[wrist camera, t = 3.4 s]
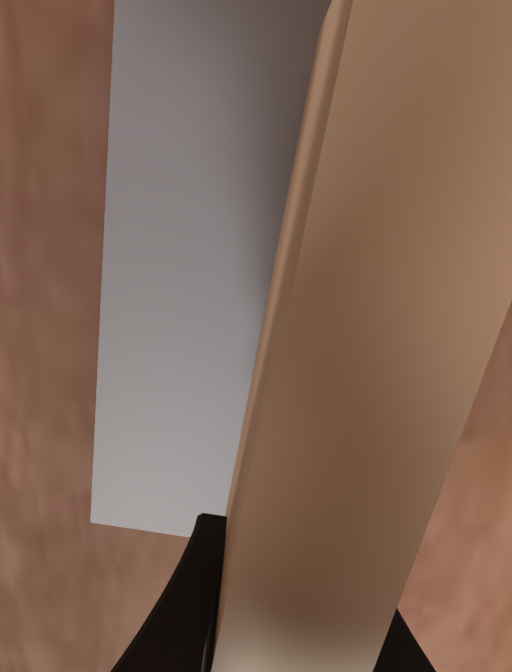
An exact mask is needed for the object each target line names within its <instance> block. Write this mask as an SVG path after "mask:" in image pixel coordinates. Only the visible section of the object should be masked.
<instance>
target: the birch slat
mask: <svg viewBox="0 0 512 672" xmlns="http://www.w3.org/2000/svg"><path fill="white" fill-rule="evenodd" d="M511 300H512V0H332V2H331V4H330V7H329V9H328V12H327V14H326V17H325V19H324V21H323V24H322V26H321V29H320V31H319V35H318V40H317V45H316V50H315V56H314V61H313V66H312V71H311V76H310V81H309V86H308V91H307V97H306V102H305V107H304V112H303V117H302V122H301V127H300V133H299V138H298V143H297V148H296V153H295V158H294V163H293V168H292V174H291V179H290V184H289V189H288V194H287V199H286V204H285V210H284V215H283V220H282V225H281V230H280V235H279V240H278V245H277V251H276V256H275V261H274V266H273V271H272V276H271V281H270V286H269V292H268V297H267V302H266V307H265V312H264V317H263V322H262V328H261V333H260V338H259V343H258V348H257V353H256V358H255V363H254V369H253V374H252V379H251V384H250V389H249V394H248V399H247V405H246V410H245V415H244V420H243V425H242V430H241V435H240V440H239V446H238V451H237V456H236V461H235V466H234V471H233V476H232V482H231V487H230V492H229V497H228V502H227V507H226V512H225V516H227V526H226V538H225V550H224V557H223V562H222V567H221V572H220V576H219V581H218V586H217V591H216V596H215V600H214V605H213V610H212V615H211V620H210V624H209V629H208V634H207V639H206V643H205V648H204V655H203V664H202V672H373V670H374V667H375V664H376V662H377V659H378V656H379V654H380V651H381V648H382V646H383V643H384V640H385V637H386V635H387V632H388V629H389V627H390V624H391V621H392V619H393V616H394V613H395V611H396V608H397V605H398V603H399V600H400V597H401V595H402V592H403V589H404V587H405V584H406V581H407V579H408V576H409V573H410V571H411V568H412V565H413V563H414V560H415V557H416V554H417V552H418V549H419V546H420V544H421V541H422V538H423V536H424V533H425V530H426V528H427V525H428V522H429V520H430V517H431V514H432V512H433V509H434V506H435V504H436V501H437V498H438V496H439V493H440V490H441V488H442V485H443V482H444V480H445V477H446V474H447V472H448V469H449V466H450V463H451V461H452V458H453V455H454V453H455V450H456V447H457V445H458V442H459V439H460V437H461V434H462V431H463V429H464V426H465V423H466V421H467V418H468V415H469V413H470V410H471V407H472V405H473V402H474V399H475V397H476V394H477V391H478V389H479V386H480V383H481V380H482V378H483V375H484V372H485V370H486V367H487V364H488V362H489V359H490V356H491V354H492V351H493V348H494V346H495V343H496V340H497V338H498V335H499V332H500V330H501V327H502V324H503V322H504V319H505V316H506V314H507V311H508V308H509V306H510V303H511Z"/></svg>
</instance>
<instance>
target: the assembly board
mask: <svg viewBox="0 0 512 672" xmlns="http://www.w3.org/2000/svg"><path fill="white" fill-rule="evenodd" d="M331 2H332V0H115V8H114V29H113V51H112V72H111V93H110V115H109V136H108V158H107V179H106V200H105V222H104V243H103V265H102V286H101V307H100V329H99V350H98V372H97V393H96V414H95V436H94V457H93V479H92V500H91V521H90V522H92V523H98V524H105V525H112V526H118V527H125V528H132V529H138V530H145V531H152V532H158V533H165V534H171V535H178V536H185V537H191V535H192V532H193V529H194V527H195V523H196V519H197V516H198V515H200V514H202V513H208V514H214V515H221V516H225V512H226V507H227V502H228V497H229V492H230V487H231V482H232V476H233V471H234V466H235V461H236V456H237V451H238V446H239V440H240V435H241V430H242V425H243V420H244V415H245V410H246V405H247V399H248V394H249V389H250V384H251V379H252V374H253V369H254V363H255V358H256V353H257V348H258V343H259V338H260V333H261V328H262V322H263V317H264V312H265V307H266V302H267V297H268V292H269V286H270V281H271V276H272V271H273V266H274V261H275V256H276V251H277V245H278V240H279V235H280V230H281V225H282V220H283V215H284V210H285V204H286V199H287V194H288V189H289V184H290V179H291V174H292V168H293V163H294V158H295V153H296V148H297V143H298V138H299V133H300V127H301V122H302V117H303V112H304V107H305V102H306V97H307V91H308V86H309V81H310V76H311V71H312V66H313V61H314V56H315V50H316V45H317V40H318V35H319V31H320V29H321V26H322V24H323V21H324V19H325V17H326V14H327V12H328V9H329V7H330V4H331Z"/></svg>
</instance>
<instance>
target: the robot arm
mask: <svg viewBox="0 0 512 672" xmlns="http://www.w3.org/2000/svg"><path fill="white" fill-rule="evenodd" d="M226 526H227V516H221V515H214V514H208V513H202V514H200V515H198V516H197V519H196V523H195V527H194V529H193V532H192V535H191V537H190V540H189V542H188V544H187V547H186V549H185V551H184V553H183V555H182V557H181V559H180V562H179V563H178V565H177V567H176V569H175V571H174V573H173V575H172V576H171V578H170V580H169V582H168V584H167V586H166V588H165V589H164V591H163V593H162V595H161V596H160V598H159V600H158V601H157V603H156V604H155V606H154V608H153V609H152V611H151V612H150V614H149V616H148V617H147V619H146V621H145V622H144V624H143V625H142V627H141V628H140V630H139V632H138V633H137V635H136V636H135V637H134V639H133V640H132V642H131V643H130V645H129V646H128V648H127V649H126V651H125V652H124V653H123V655H122V656H121V658H120V659H119V660H118V662H117V663H116V665H115V666H114V667H113V669H112V670H111V672H202V664H203V655H204V648H205V643H206V639H207V634H208V629H209V624H210V620H211V615H212V610H213V605H214V600H215V596H216V591H217V586H218V581H219V576H220V572H221V567H222V562H223V557H224V550H225V538H226ZM373 672H436V671H435V669H434V668H433V666H432V665H431V663H430V661H429V660H428V658H427V657H426V655H425V654H424V652H423V651H422V649H421V647H420V646H419V644H418V643H417V641H416V639H415V638H414V636H413V635H412V633H411V631H410V629H409V628H408V626H407V624H406V623H405V621H404V619H403V618H402V616H401V614H400V612H399V611H398V609H397V608H396V611H395V613H394V616H393V619H392V621H391V624H390V627H389V629H388V632H387V635H386V637H385V640H384V643H383V646H382V648H381V651H380V654H379V656H378V659H377V662H376V664H375V667H374V670H373Z"/></svg>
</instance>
